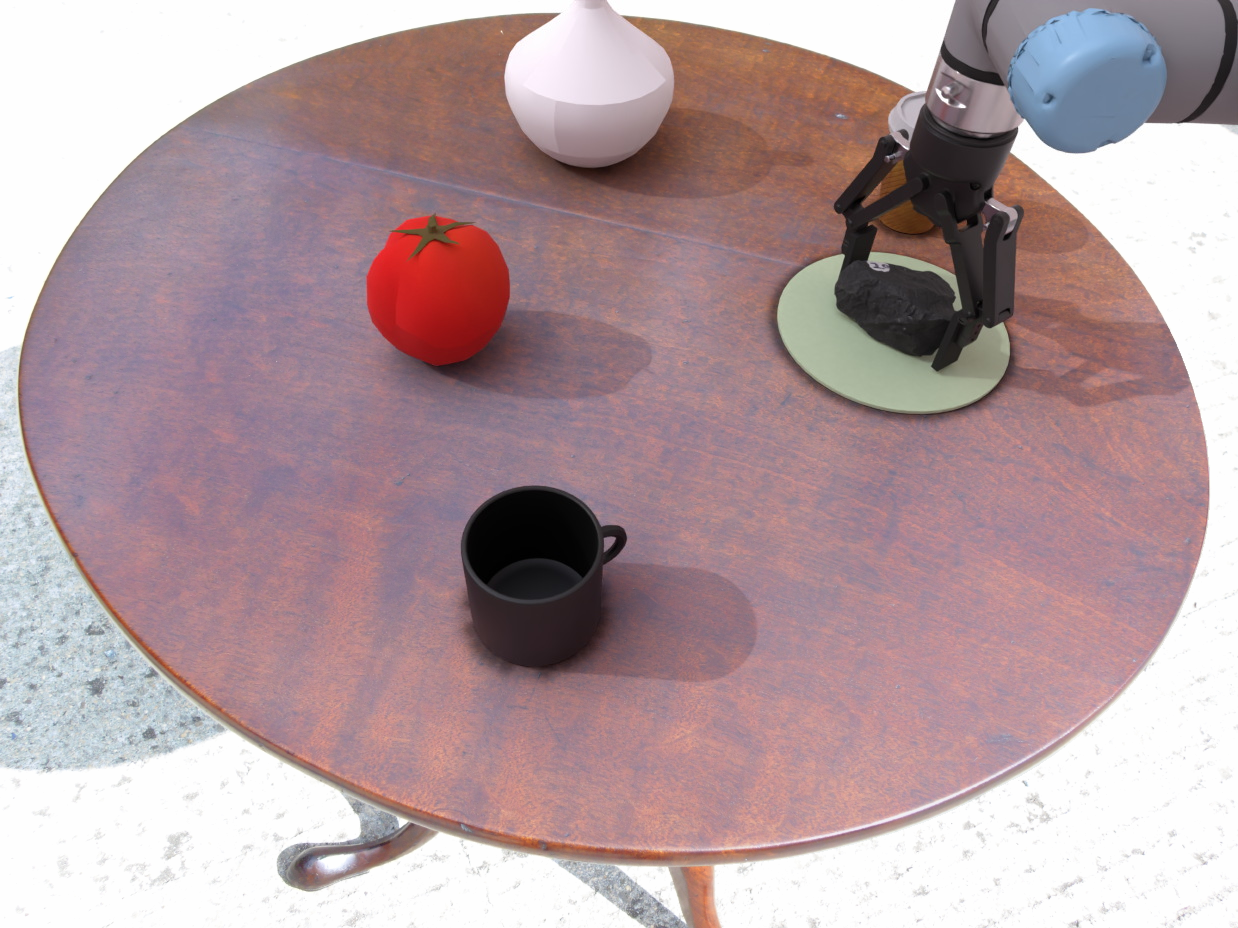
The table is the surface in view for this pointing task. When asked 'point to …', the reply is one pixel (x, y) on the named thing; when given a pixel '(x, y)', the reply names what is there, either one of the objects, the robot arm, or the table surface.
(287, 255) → the table surface
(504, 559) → the mug
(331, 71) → the table surface
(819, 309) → the mat
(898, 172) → the disposable coffee cup
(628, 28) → the vase
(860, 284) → the rock
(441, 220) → the tomato
